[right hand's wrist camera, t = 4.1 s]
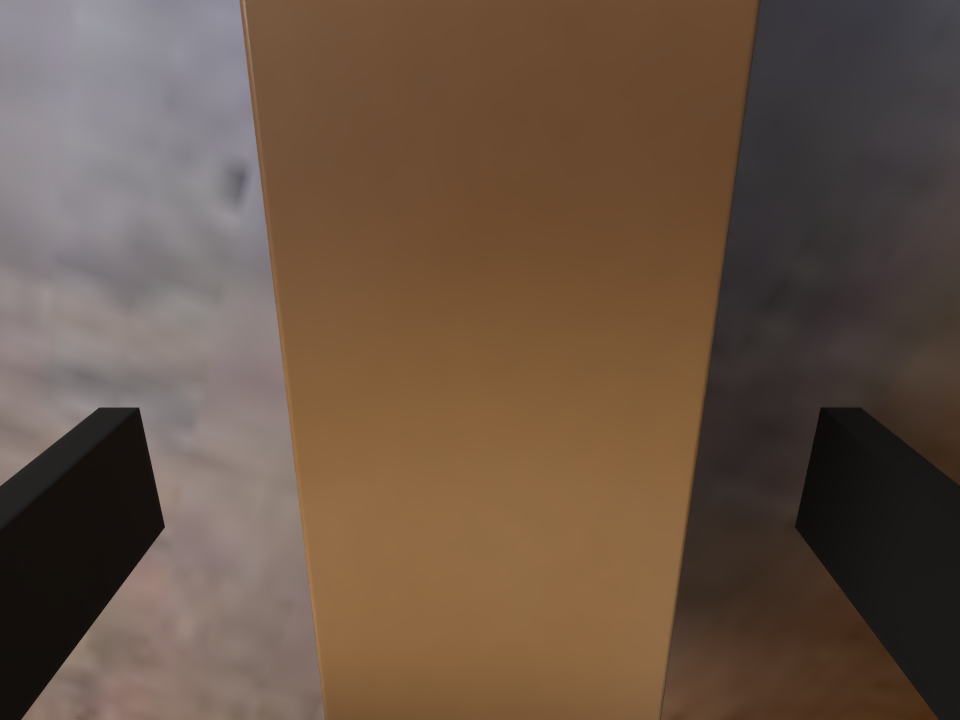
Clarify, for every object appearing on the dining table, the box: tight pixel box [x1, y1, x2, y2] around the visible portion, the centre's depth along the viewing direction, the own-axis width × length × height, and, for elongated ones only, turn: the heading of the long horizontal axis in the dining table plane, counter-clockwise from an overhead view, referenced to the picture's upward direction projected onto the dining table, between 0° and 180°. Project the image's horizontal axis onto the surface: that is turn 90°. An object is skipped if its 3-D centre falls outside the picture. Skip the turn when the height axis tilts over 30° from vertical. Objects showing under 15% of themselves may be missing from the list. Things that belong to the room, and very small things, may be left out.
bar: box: [240, 0, 760, 720], centre depth 10 cm, size 23×5×9 cm, turn 0°
